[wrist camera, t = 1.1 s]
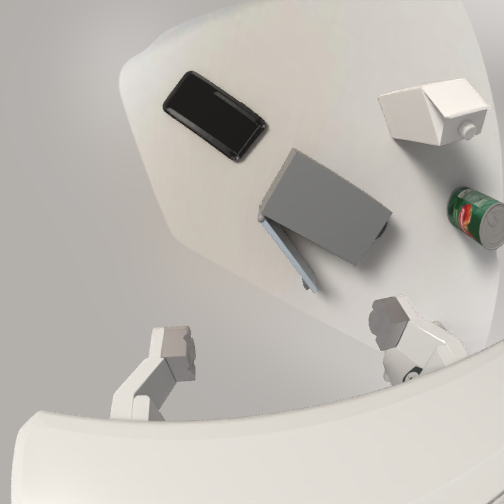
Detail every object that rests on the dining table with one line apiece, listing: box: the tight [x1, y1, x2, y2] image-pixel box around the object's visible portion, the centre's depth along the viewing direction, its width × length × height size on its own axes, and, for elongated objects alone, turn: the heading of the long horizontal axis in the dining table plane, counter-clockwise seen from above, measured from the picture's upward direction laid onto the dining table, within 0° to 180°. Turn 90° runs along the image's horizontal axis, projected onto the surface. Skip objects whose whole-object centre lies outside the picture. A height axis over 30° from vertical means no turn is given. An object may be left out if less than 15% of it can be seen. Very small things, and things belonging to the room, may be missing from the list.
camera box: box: [261, 148, 392, 266], centre depth 42 cm, size 17×10×7 cm, turn 62°
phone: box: [163, 71, 265, 160], centre depth 41 cm, size 8×1×15 cm
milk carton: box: [378, 78, 493, 146], centre depth 30 cm, size 7×7×19 cm
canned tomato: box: [447, 186, 504, 250], centre depth 38 cm, size 8×8×11 cm
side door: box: [258, 205, 318, 293], centre depth 45 cm, size 15×2×6 cm, turn 37°
